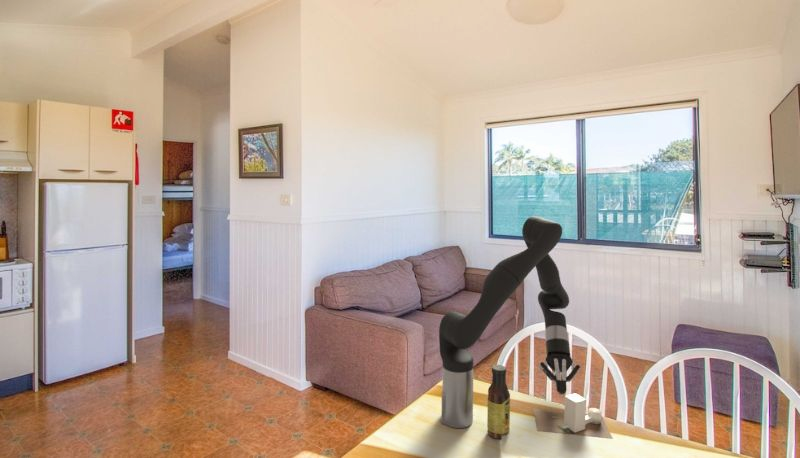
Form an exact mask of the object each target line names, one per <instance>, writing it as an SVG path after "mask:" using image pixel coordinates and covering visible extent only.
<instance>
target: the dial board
mask: <svg viewBox="0 0 800 458" xmlns="http://www.w3.org/2000/svg"><path fill="white" fill-rule="evenodd" d="M532 411H533V414H534V419H535V420H534V421H535V425H536V430H537V432H542V433H543V432H545V433H554V434H564V435H572V436H573V435H574V436H582V437H583V436H584V437H593V438H603V439H604V438H605V439H610V440H611V439H613V436H612V434H611V432H610V429H609V428H608V425H607V424H606V421H605V420H604V417H603V415H602V414H601V423H600V424H593V423H591V422H589V423H586V424H585V429H584V430H581V431H578V432H575V433H574V432H573V431H571V430H570V429H569V428H565V429H564V428H563V427H565V426H564V411H560V410H550V409H548V410H546V409H540V408H539V409H538V408H537V409H536V408H533V410H532ZM586 415H588V413H586Z"/></svg>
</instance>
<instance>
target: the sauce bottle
mask: <svg viewBox="0 0 800 458" xmlns="http://www.w3.org/2000/svg"><path fill="white" fill-rule="evenodd" d="M491 373H492V378H491V381H492V382H491V384H490V385H489V387H488V389H487V419H486V420H487V422H486V423H487V434H488V435H489V436H490V437H492V438H493V439H496V440H502V438H503V437H502V436H506V435H508V433H509V432H510V425H511V424H510V423H511V421H510V420H511V419H510V418H511V416H510V415H511V394H510V391H509V388H508V385H507V375H506V374H507V367H506V366H505V365H502V364H501V365H500V364H494V365H492V366H491Z"/></svg>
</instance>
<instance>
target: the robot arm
mask: <svg viewBox="0 0 800 458" xmlns="http://www.w3.org/2000/svg"><path fill="white" fill-rule="evenodd" d="M521 231H522V232H521V234H522V238H523V240H524V243H525V246H526V247H527V248H526V249H524V250H523V251H520V252H518V253H516V254H514V255H511V256H509V257H507V258H504V259H502V260H501V261H499V262H498V263H497V264H496V265H495V266H494V267H493V268H492V269H491V271H490V272H489V273H488V274H487V275H486V277H485V279H484V280H483V283H482V288H481V293H480V296H479V299H478V301H477V303H476V305H475V306H474V307H473V308H472V309H471V311H470V312H469V313H468V314H466V315H465V314H462V313H460V312H459V311H449V312H447V313H446V314H444V315H443V316H442V319H440V320H441V321H440V324H439V327H438V337H439V338H438V339H439V340H438V342H439V354H440V355H439V356H440V357H441V358H440V359H441V361H442V390H441V424H442V425H443V424H444V425H446V426H448V427H450V428H455V429H465V428H467V427H468V428H469V426H471V425H472V424H473V423H474V421H473V420H474V358H473V355H472V354H471V352H470V351H469V350H468V349H469V348H472V346H474V345H475V344H476V343H477V342H478V340H479V339H480V338H481V336H482V335H483V333H484V332H485V330H486V329H487V327H488V326H489V325H490V323H491V321H492V319H493V318H494V317H495V316H496V314H497V313H498V312H499V310H501V308H502V306H503V305H504V304H505V303H506V301H507V300H508V299H509V298H510V297H511V296H512V295H513V294H514V292H515V291H516V290H517V289H518V288H519V286H521V284H522V282H523V281H524V280H525V279H526V278H527V277H528V275H530V273H531V272H532V270H534V269H536V272H537V273H536V274H537V276H538V283H539V286H540V289H541V290H542V291H540V292H539V293H538V295H537V301H538V302H537V303H538V304H539V306H540V309H541V311H542V315H543V319H544V327H545V335H544V336H545V339H544V341H545V351H546V357H545V359H544V360H545V361H541V362H540V364H539V368H540V370H541V371H542V372H543V373H544V374H545V375H546V377H547V378H548V379H549V380H550V381H553V382H555V387H556V393H558V395H565V394H566V392H567V389H568V388H567V383H568V382H569V383H570V382H571V381H572V380H573V379H574V378H575V376H576V375H577V373H578V372H579V370H580V368H581V366H580V365H579V364H576V363H575V362H574V361H573V359H572V357H571V349H570V348H571V347H570V339H569V333H568V328H567V319H566V316H565V314H564V313H562V312H560V311H556V310H563V309H566V308H567V307H568V306H569V304H570V298H569V294H568V293H567V291H566V289H565V288H564V286H563V284H562V282H561V277H560V271H559V268H558V266H557V264H556V263H555V261H554V259H553V258H552V257H551V255H550V254H549V253H550V252H551V251H552V250H553V249H554V248H555V247H556V246H557V245H558V243H559V242H560V239H561V238H562V236H563V226H562V225H561V224H560V223H558V222H556V221H554V220H550V219H548V218H547V219H546V218H543V217H541V216H534V215H532V216H529V217H528V218H527V219H526V220H524V223H523V226H522V229H521ZM569 369H570V370H571V371H570V373H569V374H568V375H567V372H568V371H569ZM551 370H552V371H553V372H552V371H551Z"/></svg>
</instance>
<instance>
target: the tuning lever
mask: <svg viewBox="0 0 800 458" xmlns="http://www.w3.org/2000/svg"><path fill="white" fill-rule="evenodd" d="M563 410H564V411H563V412H564V426H565V427H563V428H564V429H565V428H569V429H570V430H571V431H573V432H574V433H575V432H578V431H581V430H584V429H585V424H586V423H589V422H591V423H593V424H600V423H601V415H602V411H601V409H599V408H595V407H589V408H588V409H587V399H586V398H585V397H584V396H581V395H580V394H578V393H576V392H575V393H572V394H568V395H565V396H564V409H563ZM586 414H588V415H586Z"/></svg>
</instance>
